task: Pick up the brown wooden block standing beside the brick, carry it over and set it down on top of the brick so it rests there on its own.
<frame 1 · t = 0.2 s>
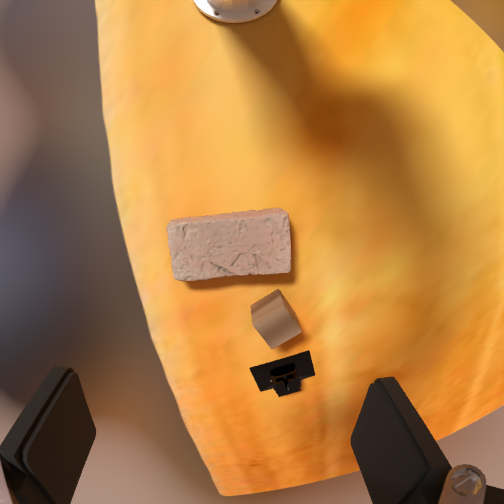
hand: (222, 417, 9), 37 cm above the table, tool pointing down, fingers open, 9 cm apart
brick: (229, 240, 46), on the table
black piece: (283, 369, 53), on the table
brown wooden block: (273, 309, 49), on the table
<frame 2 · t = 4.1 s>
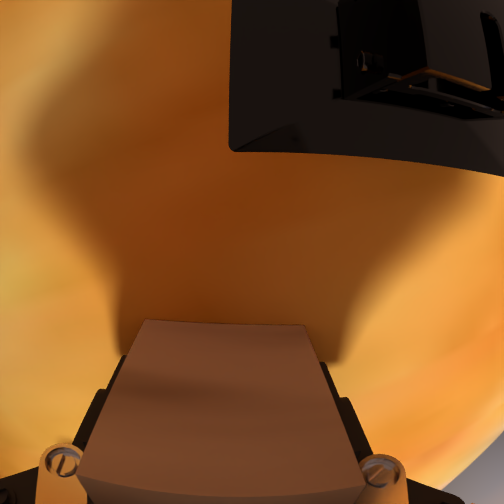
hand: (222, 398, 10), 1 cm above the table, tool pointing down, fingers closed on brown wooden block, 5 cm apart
black piece: (390, 70, 8), on the table
brown wooden block: (223, 385, 10), on the table, touching gripper
when the fingers open (7 cm above the table, at t = 8.5 s): brown wooden block drops 2 cm, resting on brick.
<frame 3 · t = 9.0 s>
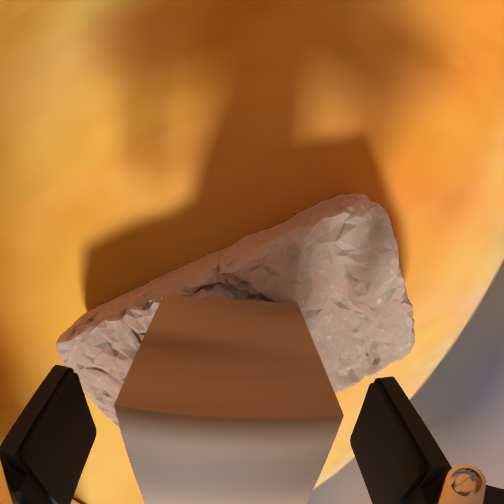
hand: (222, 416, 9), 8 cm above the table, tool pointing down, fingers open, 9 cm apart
brick: (238, 312, 17), on the table, touching brown wooden block
brown wooden block: (227, 354, 12), point 4 cm above the table, touching brick
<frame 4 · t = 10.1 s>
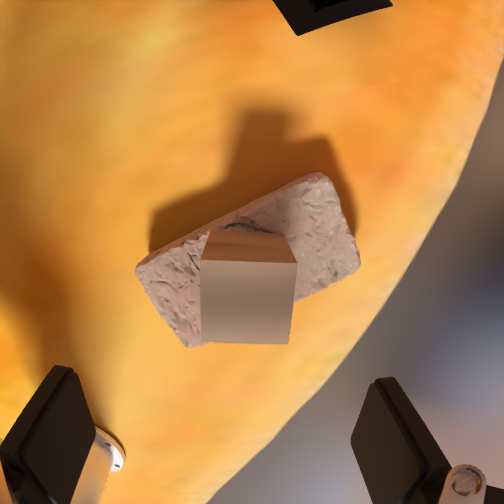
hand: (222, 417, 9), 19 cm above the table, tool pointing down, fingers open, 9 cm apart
brick: (249, 250, 27), on the table, touching brown wooden block
brown wooden block: (245, 266, 23), point 4 cm above the table, touching brick
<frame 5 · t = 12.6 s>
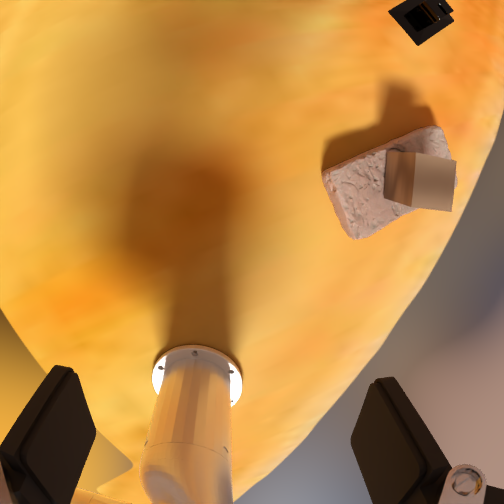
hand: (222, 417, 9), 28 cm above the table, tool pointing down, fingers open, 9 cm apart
brick: (386, 175, 36), on the table, touching brown wooden block
black piece: (421, 17, 30), on the table
brown wooden block: (405, 177, 31), point 4 cm above the table, touching brick
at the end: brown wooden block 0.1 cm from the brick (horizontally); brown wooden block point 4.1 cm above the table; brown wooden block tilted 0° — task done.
